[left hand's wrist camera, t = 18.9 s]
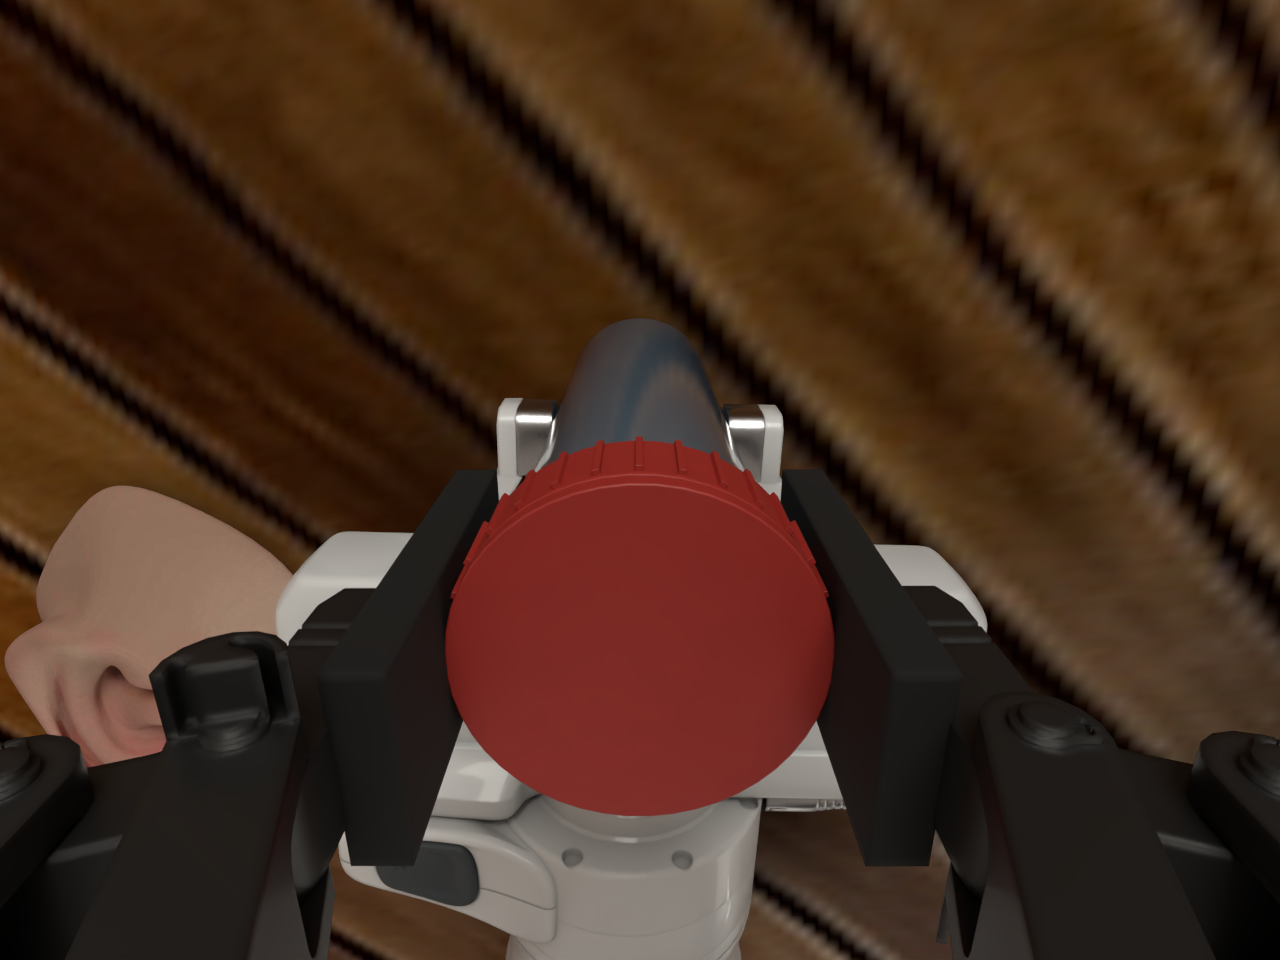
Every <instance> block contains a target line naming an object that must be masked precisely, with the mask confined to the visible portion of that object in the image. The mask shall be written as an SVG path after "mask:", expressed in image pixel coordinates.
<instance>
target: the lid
mask: <svg viewBox="0 0 1280 960" xmlns="http://www.w3.org/2000/svg"><path fill="white" fill-rule="evenodd" d="M815 563H816V561H815V559H814V557H813V555H812V553H811V551H810V549H809V547H808V545H807V543H806V541H805V539H804V537H803V535H802V533H801V531H800V529H799V527H798V525H797V523H796V521H795V520H794V521H792V522H790V521H789V519H788V517H787V515H786V513H785V511H784V508H783V506H782V504H781V502H780V500H779V498H778V496H777V495H776V494H775V493H774V492H773V493H772V494H770V495H769V494H768V493H767V492H766V491H765V490H764V489H763V488H762V487H761V486H760V485H759V484H758V483H757V482H756V481H755V480H754V478H753V475H752V473H751V471H749V470H748V469H745V470H744V471H741V470H740V469H738V468H736V467H734V466H733V465H731V464H729V463H727V462H726V461H724V460H722V459H720V456H719V453H718V452H715V451H712V452H711V454H708V453H705V452H703V451H700V450H697V449H693V448H690V447H686V446H683V445H682V441H680V440H675V442H674V444H672V443H665V442H657V441H643V437H642V436H636V441H623V442H615V443H606V444H604V440H600V441H597V443H596V446H594V447H590V448H586V449H582V450H580V451H577V452H574V453H572V454H569V455H568V453H567V451H564V452H562V453H560V455H559V458H558V460H556V461H554V462H552V463H550V464H549V465H547V466H545V467H543V468H541V469H540V470H539V471H537V472H535V471H534V469H532V470H530V471H529V472H528V473H527V475H526V478H525V480H524V482H522V483H521V484H520V485H519V486H518V487H517V488H516V489H515V490H514V491H513V492H512V493H511V494H510V495H508V494H506V493H504V494H503V495H502V497H501V498H500V500H499V503H498V505H497V507H496V509H495V511H494V513H493V515H492V517H491V520H490V522H489V523H488V522H486V521H484V522H483V524H482V526H481V528H480V530H479V532H478V534H477V536H476V538H475V540H474V542H473V544H472V546H471V548H470V550H469V552H468V554H467V556H466V558H465V560H464V562H463V564H464V568H463V570H462V572H461V574H460V576H459V578H458V580H457V582H456V584H455V586H454V588H453V590H452V592H451V596H450V598H452V599H453V602H452V604H451V607H450V611H449V616H448V620H447V625H446V630H445V655H446V664H447V674H448V682H449V686H450V690H451V694H452V697H453V699H454V702H455V704H456V706H457V709H458V711H459V714H460V716H461V718H462V719H463V721H464V723H465V724H466V726H467V728H468V729H469V731H470V733H471V734H472V736H473V737H474V738H475V740H476V741H477V742H478V743H479V745H480V746H481V747H482V748H483V750H484V751H485V752H486V753H487V754H488V755H489V756H490V757H491V758H492V759H493V760H494V761H495V762H496V763H497V764H498V765H499V766H500V767H501V768H503V769H504V770H505V771H507V772H508V773H509V774H511V775H512V776H513V777H515V778H516V779H517V780H518V781H520V782H522V783H523V784H525V785H527V786H529V787H530V788H532V789H534V790H535V791H537V792H539V793H541V794H543V795H545V796H548V797H550V798H552V799H554V800H556V801H559V802H562V803H565V804H568V805H571V806H574V807H577V808H580V809H584V810H589V811H594V812H598V813H603V814H612V815H621V816H658V815H669V814H676V813H681V812H686V811H691V810H696V809H699V808H702V807H705V806H709V805H712V804H715V803H718V802H720V801H723V800H725V799H727V798H730V797H732V796H734V795H736V794H739V793H740V792H742V791H744V790H746V789H747V788H749V787H751V786H753V785H754V784H756V783H758V782H759V781H761V780H762V779H763V778H765V777H766V776H767V775H769V774H770V773H772V772H773V771H774V770H776V769H777V768H778V767H779V766H780V765H781V764H782V763H783V762H784V761H785V760H786V759H787V758H788V757H790V756H791V755H792V754H793V752H794V751H795V750H796V749H797V748H798V746H799V745H800V744H801V743H802V742H803V740H804V739H805V738H806V737H807V735H808V733H809V732H810V730H811V729H812V727H813V725H814V724H815V722H816V720H817V719H818V717H819V714H820V712H821V710H822V708H823V705H824V703H825V701H826V699H827V695H828V691H829V688H830V684H831V677H832V668H833V659H834V649H835V633H834V628H833V622H832V617H831V612H830V609H829V606H828V603H827V600H826V598H828V597H829V594H828V591H827V589H826V587H825V585H824V582H823V580H822V578H821V576H820V574H819V572H818V570H817V568H816V566H815Z"/></svg>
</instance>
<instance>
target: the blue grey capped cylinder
mask: <svg viewBox="0 0 1280 960" xmlns="http://www.w3.org/2000/svg"><path fill="white" fill-rule="evenodd" d="M636 436H642V437H643V441H657V442H665V443H672V444H674V442H675V440H680V441H682V445H683V446H686V447H690V448H693V449H697V450H700V451H703V452H705V453H708V454H711V452H712V451H715V452H718V453H719V456H720V459H722V460H724V461H726V462H727V463H729V464H731V465H733V466H734V467H736V468H738V469H740V470H741V471H744V470H745V467H744V465H743V462H742V460H741V457H740V454H739V452H738V449H737V447H736V444H735V442H734V439H733V437H732V434H731V432H730V429H729V427H728V424H727V422H726V419H725V417H724V414H723V412H722V409H721V407H720V404H719V402H718V399H717V397H716V394H715V392H714V389H713V387H712V384H711V382H710V379H709V377H708V374H707V372H706V369H705V367H704V364H703V362H702V359H701V356H700V355H699V353H698V351H697V349H696V348H695V346H694V345H693V344H692V342H691V341H690V340H689V339H688V338H687V337H686V336H685V335H684V334H682V333H681V332H680V331H678V330H677V329H675V328H674V327H672V326H670V325H668V324H665V323H663V322H660V321H656V320H652V319H644V318H635V319H628V320H623V321H620V322H616V323H614V324H612V325H609V326H608V327H606V328H604V329H603V330H601V331H600V332H598V333H597V334H596V335H595V336H594V337H593V338H592V339H591V340H590V341H589V342H588V343H587V345H586V346H585V347H584V349H583V350H582V352H581V354H580V356H579V358H578V360H577V363H576V365H575V368H574V370H573V373H572V375H571V378H570V380H569V383H568V385H567V388H566V390H565V393H564V396H563V398H562V401H561V403H560V406H559V408H558V411H557V413H556V416H555V418H554V421H553V423H552V426H551V428H550V431H549V433H548V436H547V438H546V441H545V443H544V446H543V448H542V451H541V453H540V456H539V458H538V461H537V463H536V466H535V468H534V471H535V472H537V471H539V470H540V469H541V468H543V467H545V466H547V465H549V464H550V463H552V462H554V461H556V460H558V458H559V455H560V453H562V452H564V451H567V453H568V455H569V454H572V453H574V452H577V451H580V450H582V449H586V448H590V447H594V446H596V443H597V441H600V440H604V444H606V443H615V442H623V441H636Z"/></svg>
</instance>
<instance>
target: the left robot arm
mask: <svg viewBox="0 0 1280 960" xmlns="http://www.w3.org/2000/svg"><path fill="white" fill-rule="evenodd" d="M780 502H781V504H782V506H783V508H784V511H785V513H786V515H787V517H788V519H789V521H790V522H792V521H794V520H795V521H796V523H797V525H798V527H799V529H800V531H801V533H802V535H803V537H804V539H805V541H806V543H807V545H808V547H809V549H810V551H811V553H812V555H813V557H814V559H815V561H816V563H815V566H816V568H817V570H818V572H819V574H820V576H821V578H822V580H823V582H824V585H825V587H826V589H827V591H828V594H829V597H828V598H826V600H827V603H828V606H829V609H830V612H831V617H832V622H833V628H834V633H835V649H834V659H833V668H832V677H831V684H830V688H829V691H828V695H827V699H826V701H825V703H824V705H823V708H822V710H821V712H820V714H819V717H818V719H817V720H816V721H817V724H818V727H819V730H820V733H821V736H822V739H823V742H824V745H825V748H826V751H827V754H828V757H829V760H830V763H831V766H832V768H833V771H834V774H835V777H836V780H837V783H838V786H839V789H840V792H841V795H842V798H843V801H844V804H845V807H846V810H847V812H848V815H849V818H850V821H851V824H852V827H853V830H854V833H855V836H856V839H857V842H858V845H859V848H860V851H861V854H862V856H863V859H864V862H865V865H866V866H929V861H930V855H931V850H932V844H933V839H934V833H935V829H936V831H937V833H938V835H939V837H940V839H941V841H942V843H943V845H944V848H945V850H946V852H947V854H948V856H949V858H950V860H951V863H950V868H949V873H948V878H947V883H946V889H945V894H944V899H943V904H942V909H941V914H940V919H939V924H938V931H937V938H936V942H939V943H943V944H946V942H947V937H948V932H949V930H950V938H951V947H952V955H953V960H1280V739H1279V740H1277V739H1275V738H1274V737H1269V736H1265V735H1260V734H1253V733H1245V732H1238V731H1228V732H1220V733H1212V734H1211V735H1210V736H1208V737H1207V738H1206V739H1204V740H1203V741H1202V742H1201V743H1200V746H1199V749H1198V752H1197V755H1196V758H1195V762H1194V765H1193V764H1189V763H1184V762H1179V761H1174V760H1169V759H1164V758H1159V757H1155V756H1150V755H1145V754H1140V753H1135V752H1131V751H1127V750H1124V749H1120V748H1117V746H1116V744H1115V741H1114V740H1113V738H1112V737H1111V736H1110V734H1109V733H1108V732H1107V730H1106V729H1105V728H1104V726H1103V725H1102V724H1101V723H1100V722H1098V721H1097V720H1095V719H1094V718H1093V717H1091V716H1090V715H1089V714H1087V713H1086V712H1084V711H1083V710H1082V709H1079V708H1077V707H1075V706H1073V705H1071V704H1068V703H1066V702H1064V701H1062V700H1060V699H1057V698H1053V697H1049V696H1045V695H1041V694H1037V693H1035V692H1034V691H1033V690H1032V689H1031V687H1030V686H1029V685H1028V684H1027V682H1026V681H1025V680H1024V679H1023V677H1022V676H1021V675H1020V674H1019V672H1018V671H1017V670H1016V669H1015V668H1014V666H1013V665H1012V664H1011V663H1010V661H1009V660H1008V659H1007V658H1006V656H1005V655H1004V654H1003V653H1002V651H1001V650H1000V649H999V648H998V646H997V645H996V644H995V643H992V642H991V638H990V637H989V635H988V634H987V633H986V632H985V630H984V629H983V628H982V627H981V626H978V622H977V620H976V619H975V618H974V617H973V616H972V614H971V613H970V612H969V611H968V609H967V608H966V607H965V606H964V604H963V603H962V602H960V601H959V600H957V599H955V598H954V597H952V596H951V595H949V594H947V593H946V592H944V591H943V590H941V589H940V588H938V587H936V586H902V585H901V584H900V582H899V581H898V579H897V578H896V576H895V575H894V574H893V572H892V571H891V569H890V568H889V566H888V565H887V563H886V562H885V560H884V559H883V558H882V556H881V555H880V553H879V552H878V550H877V549H876V547H875V546H874V544H873V543H872V541H871V540H870V539H869V537H868V536H867V534H866V533H865V531H864V530H863V528H862V527H861V525H860V524H859V522H858V521H857V520H856V518H855V517H854V515H853V514H852V512H851V511H850V509H849V508H848V506H847V505H846V504H845V502H844V501H843V499H842V498H841V496H840V495H839V493H838V492H837V490H836V489H835V487H834V486H833V485H832V483H831V482H830V480H829V479H828V477H827V476H826V474H825V473H824V471H823V470H783V472H782V486H781V500H780ZM498 503H499V493H498V479H497V470H457V471H456V472H455V474H454V475H453V477H452V478H451V479H450V481H449V482H448V484H447V485H446V487H445V488H444V490H443V491H442V493H441V494H440V495H439V497H438V498H437V500H436V501H435V503H434V504H433V506H432V507H431V509H430V510H429V512H428V513H427V514H426V516H425V517H424V519H423V520H422V522H421V523H420V525H419V526H418V528H417V529H416V531H415V532H414V533H413V535H412V536H411V538H410V539H409V541H408V542H407V544H406V545H405V547H404V548H403V549H402V551H401V552H400V554H399V555H398V557H397V558H396V560H395V561H394V563H393V564H392V566H391V567H390V568H389V570H388V571H387V573H386V574H385V576H384V577H383V579H382V580H381V582H380V583H379V585H378V586H377V587H376V588H344V589H343V590H341V591H339V592H338V593H336V594H335V595H333V596H331V597H330V598H328V599H327V600H325V601H324V602H322V603H320V604H319V605H318V606H317V607H316V608H315V609H314V610H313V612H312V613H311V614H310V615H309V617H308V618H307V619H306V620H305V622H304V623H303V624H302V629H298V630H297V632H296V633H295V634H294V635H293V637H292V638H291V639H290V640H289V644H288V646H287V643H286V642H284V641H283V640H282V639H281V638H279V637H278V636H277V635H274V634H269V633H264V632H259V631H247V632H232V633H227V634H223V635H218V636H214V637H209V638H206V639H203V640H201V641H198V642H196V643H193V644H191V645H188V646H186V647H183V648H181V649H180V650H178V651H176V652H175V653H173V654H172V655H170V656H168V657H167V658H165V659H164V660H162V661H161V662H160V663H159V664H158V665H157V666H156V667H155V669H154V670H153V671H152V672H151V673H150V674H149V675H148V676H149V679H150V683H151V687H152V690H153V694H154V697H155V701H156V705H157V708H158V712H159V715H160V719H161V723H162V726H163V730H164V734H165V737H166V743H165V745H164V747H163V749H162V751H161V752H157V753H154V754H150V755H146V756H141V757H136V758H131V759H127V760H122V761H117V762H112V763H107V764H103V765H98V766H93V767H88V768H87V766H86V763H85V760H84V757H83V754H82V751H81V748H80V745H78V744H77V743H76V742H74V741H73V740H72V739H70V738H69V737H65V736H57V735H49V734H46V735H38V736H31V737H24V738H17V739H13V740H9V741H6V742H5V743H0V960H327V957H328V949H329V940H330V932H331V923H332V915H333V906H334V898H335V892H334V885H333V878H332V873H331V868H330V861H331V859H332V857H333V855H334V852H335V850H336V848H337V846H338V844H339V842H340V840H341V838H342V835H343V833H344V831H345V836H346V842H347V847H348V853H349V858H350V864H351V866H414V864H415V861H416V858H417V855H418V852H419V849H420V846H421V843H422V840H423V838H424V835H425V832H426V829H427V826H428V823H429V820H430V817H431V814H432V811H433V808H434V805H435V802H436V799H437V796H438V793H439V791H440V788H441V785H442V782H443V779H444V776H445V773H446V770H447V767H448V764H449V761H450V758H451V755H452V752H453V749H454V747H455V744H456V741H457V738H458V735H459V732H460V729H461V726H462V723H463V719H462V718H461V716H460V714H459V711H458V709H457V706H456V704H455V702H454V699H453V697H452V694H451V690H450V686H449V682H448V674H447V664H446V655H445V630H446V625H447V620H448V616H449V611H450V607H451V604H452V602H453V599H452V598H450V596H451V592H452V590H453V588H454V586H455V584H456V582H457V580H458V578H459V576H460V574H461V572H462V570H463V568H464V564H463V562H464V560H465V558H466V556H467V554H468V552H469V550H470V548H471V546H472V544H473V542H474V540H475V538H476V536H477V534H478V532H479V530H480V528H481V526H482V524H483V522H484V521H486V522H488V523H489V522H490V520H491V517H492V515H493V513H494V511H495V509H496V507H497V505H498Z"/></svg>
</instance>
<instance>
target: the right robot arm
mask: <svg viewBox="0 0 1280 960" xmlns="http://www.w3.org/2000/svg"><path fill="white" fill-rule="evenodd" d="M557 411H558V401H557V400H544V399H523V398H505V399H504V401H503V402H502V404H501V405H500V407H499V409H498V416H497V446H498V468H497V479H498V493H499V500H500V498H501V497H502V495H503V494H504V493H506V494H508V495H510V494H511V493H512V492H513V491H514V490H515V489H516V487H517V485H518V484H519V482H520V480H521V478H522V477H523V476H526V475H527V473H528V472H529V471H530V470H532V469H534V468H535V466H536V463H537V461H538V458H539V456H540V453H541V451H542V448H543V446H544V443H545V441H546V438H547V436H548V433H549V431H550V428H551V426H552V423H553V421H554V418H555V416H556V413H557ZM722 412H723V414H724V417H725V419H726V422H727V424H728V427H729V429H730V432H731V434H732V437H733V439H734V442H735V444H736V447H737V449H738V452H739V454H740V457H741V460H742V462H743V465H744V467H745V469H748V470H749V471H751V473H752V475H753V478H754V480H755V481H756V482H757V483H758V484H759V485H760V486H761V487H762V488H763V489H764V490H765V491H766V492H767V493H768V494H769V495H770V494H772V493H773V492H774V493H775V494H776V495H777V496H778V498H779V500H781V486H782V480H781V478H780V476H779V473H780V462H781V452H782V442H783V431H784V430H783V418H782V414H781V413H780V411H779V410H778V408H777V407H776V405H751V404H724V406H723V410H722ZM412 535H413V533H387V532H341V533H337V534H335V535H334V536H332V537H331V538H329V539H328V540H327V541H326V542H325V543H324V544H323V545H322V546H321V547H320V548H319V549H318V550H316V551H315V552H314V553H313V554H312V555H311V556H310V557H309V558H308V559H307V560H306V561H305V562H304V563H303V565H302V566H301V567H300V568H299V569H298V570H297V572H296V573H295V574H294V575H293V577H292V578H291V579H290V581H289V582H288V583H287V585H286V586H285V588H284V590H283V591H282V593H281V595H280V597H279V600H278V602H277V606H276V612H275V624H276V634H277V636H278V637H279V638H281V639H282V640H283V641H284V642H286V643H287V646H288V644H289V640H290V639H291V638H292V637H293V635H294V634H295V633H296V632H297V630H298V629H302V624H303V623H304V622H305V620H306V619H307V618H308V617H309V615H310V614H311V613H312V612H313V610H314V609H315V608H316V607H317V606H318V605H319V604H320V603H322V602H324V601H325V600H327V599H328V598H330V597H331V596H333V595H335V594H336V593H338V592H339V591H341V590H343V589H344V588H376V587H377V586H378V585H379V583H380V582H381V580H382V579H383V577H384V576H385V574H386V573H387V571H388V570H389V568H390V567H391V566H392V564H393V563H394V561H395V560H396V558H397V557H398V555H399V554H400V552H401V551H402V549H403V548H404V547H405V545H406V544H407V542H408V541H409V539H410V538H411V536H412ZM874 546H875V547H876V549H877V550H878V552H879V553H880V555H881V556H882V558H883V559H884V560H885V562H886V563H887V565H888V566H889V568H890V569H891V571H892V572H893V574H894V575H895V576H896V578H897V579H898V581H899V582H900V584H901V585H902V586H936V587H938V588H940V589H941V590H943V591H944V592H946V593H947V594H949V595H951V596H952V597H954V598H955V599H957V600H959V601H960V602H962V603H963V604H964V606H965V607H966V608H967V609H968V611H969V612H970V613H971V614H972V616H973V617H974V618H975V619H976V620H977V622H978V626H981V627H982V628H983V629H984V630H985V632H986V633H987V620H986V616H985V614H984V611H983V609H982V607H981V605H980V603H979V602H978V600H977V598H976V597H975V595H974V594H973V593H972V591H971V590H970V588H969V587H968V586H967V584H966V583H965V582H964V580H963V579H962V578H961V577H960V576H959V575H958V573H957V572H956V571H955V570H954V569H953V568H952V567H951V566H950V565H949V564H948V563H947V562H946V561H945V560H944V559H943V558H942V557H941V556H940V555H939V554H938V553H937V552H935V551H934V550H932V549H931V548H928V547H924V546H911V545H874ZM831 809H842V810H846V807H845V804H844V801H843V798H842V795H841V792H840V789H839V786H838V783H837V780H836V777H835V774H834V771H833V768H832V766H831V763H830V760H829V757H828V754H827V751H826V748H825V745H824V742H823V739H822V736H821V733H820V730H819V727H818V724H817V721H816V722H815V724H814V725H813V727H812V729H811V730H810V732H809V733H808V735H807V737H806V738H805V739H804V740H803V742H802V743H801V744H800V745H799V746H798V748H797V749H796V750H795V751H794V752H793V754H792V755H791V756H790V757H788V758H787V759H786V760H785V761H784V762H783V763H782V764H781V765H780V766H779V767H778V768H777V769H776V770H774V771H773V772H772V773H770V774H769V775H767V776H766V777H765V778H763V779H762V780H761V781H759V782H758V783H756V784H754V785H753V786H751V787H749V788H747V789H746V790H744V791H742V792H740V793H739V794H736V795H734V796H732V797H730V798H727V799H725V800H723V801H720V802H718V803H715V804H712V805H709V806H705V807H702V808H699V809H696V810H691V811H686V812H681V813H676V814H669V815H658V816H621V815H612V814H603V813H598V812H594V811H589V810H584V809H580V808H577V807H574V806H571V805H568V804H565V803H562V802H559V801H556V800H554V799H552V798H550V797H548V796H545V795H543V794H541V793H539V792H537V791H535V790H534V789H532V788H530V787H529V786H527V785H525V784H523V783H522V782H520V781H518V780H517V779H516V778H515V777H513V776H512V775H511V774H509V773H508V772H507V771H505V770H504V769H503V768H501V767H500V766H499V765H498V764H497V763H496V762H495V761H494V760H493V759H492V758H491V757H490V756H489V755H488V754H487V753H486V752H485V751H484V750H483V748H482V747H481V746H480V745H479V743H478V742H477V741H476V740H475V738H474V737H473V736H472V734H471V733H470V731H469V729H468V728H467V726H466V724H465V723H464V721H463V723H462V726H461V729H460V732H459V735H458V738H457V741H456V744H455V747H454V749H453V752H452V755H451V758H450V761H449V764H448V767H447V770H446V773H445V776H444V779H443V782H442V785H441V788H440V791H439V793H438V796H437V799H436V802H435V805H434V808H433V811H432V814H431V817H430V820H429V823H428V826H427V829H426V832H425V835H424V838H423V840H422V843H421V846H420V849H419V852H418V855H417V858H416V861H415V864H414V866H351V864H350V858H349V853H348V847H347V842H346V836H345V831H344V833H343V835H342V838H341V840H340V842H339V856H340V861H341V864H342V867H343V869H344V871H345V872H346V873H347V874H348V875H349V876H350V877H351V878H353V879H354V880H356V881H358V882H360V883H363V884H366V885H369V886H372V887H376V888H379V889H383V890H387V891H391V892H395V893H399V894H403V895H406V896H410V897H414V898H417V899H421V900H424V901H428V902H431V903H434V904H437V905H441V906H444V907H447V908H450V909H452V910H455V911H458V912H461V913H464V914H466V915H469V916H471V917H474V918H476V919H479V920H481V921H484V922H486V923H488V924H490V925H492V926H494V927H496V928H498V929H501V930H503V931H505V932H507V933H509V934H510V938H509V942H508V946H507V952H506V960H741V953H740V947H739V940H740V938H741V936H742V934H743V931H744V928H745V925H746V922H747V918H748V914H749V910H750V904H751V897H752V887H753V878H754V868H755V859H756V850H757V842H758V834H759V822H760V813H762V812H763V811H769V810H770V811H784V812H812V811H823V810H831Z"/></svg>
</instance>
